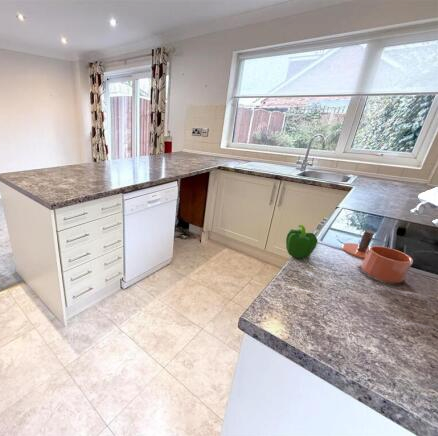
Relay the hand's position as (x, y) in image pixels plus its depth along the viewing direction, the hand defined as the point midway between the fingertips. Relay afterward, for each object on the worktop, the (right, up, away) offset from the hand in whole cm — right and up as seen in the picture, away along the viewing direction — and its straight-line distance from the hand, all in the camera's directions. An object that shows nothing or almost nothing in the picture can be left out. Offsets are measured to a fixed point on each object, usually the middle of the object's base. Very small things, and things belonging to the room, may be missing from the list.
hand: (423, 218), depth 75 cm
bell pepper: (-35, -12, +6) cm, 37 cm away
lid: (-12, -11, +8) cm, 18 cm away
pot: (-16, -16, -3) cm, 23 cm away
